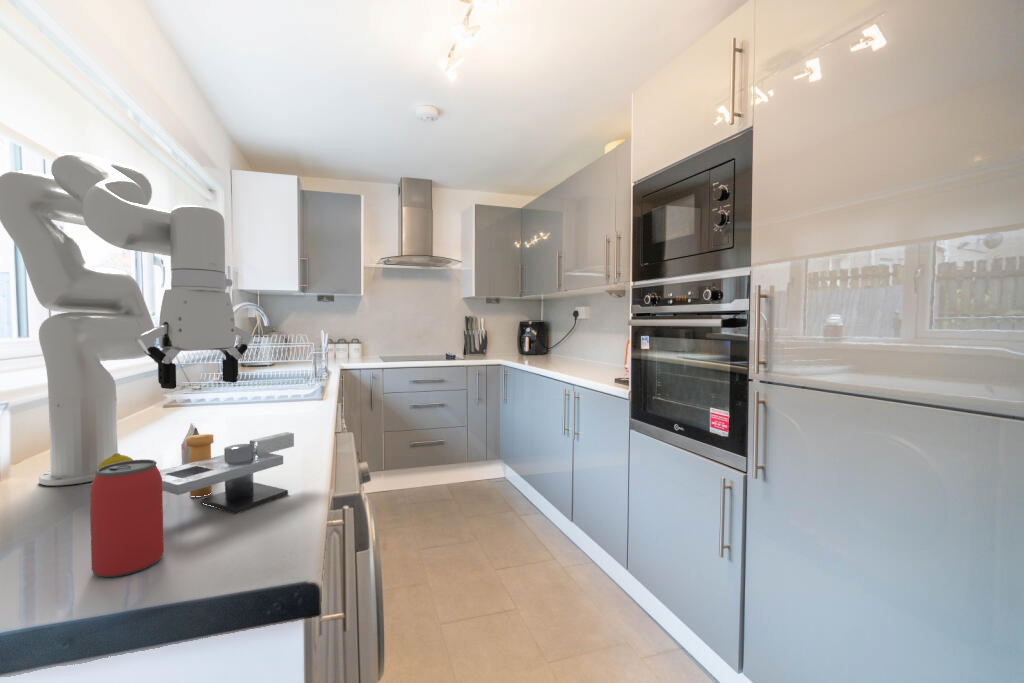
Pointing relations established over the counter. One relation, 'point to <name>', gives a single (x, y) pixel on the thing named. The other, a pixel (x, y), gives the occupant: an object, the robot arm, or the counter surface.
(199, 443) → the orange flanged peg
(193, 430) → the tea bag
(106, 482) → the beer can
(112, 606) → the counter surface
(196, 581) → the counter surface
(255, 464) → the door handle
